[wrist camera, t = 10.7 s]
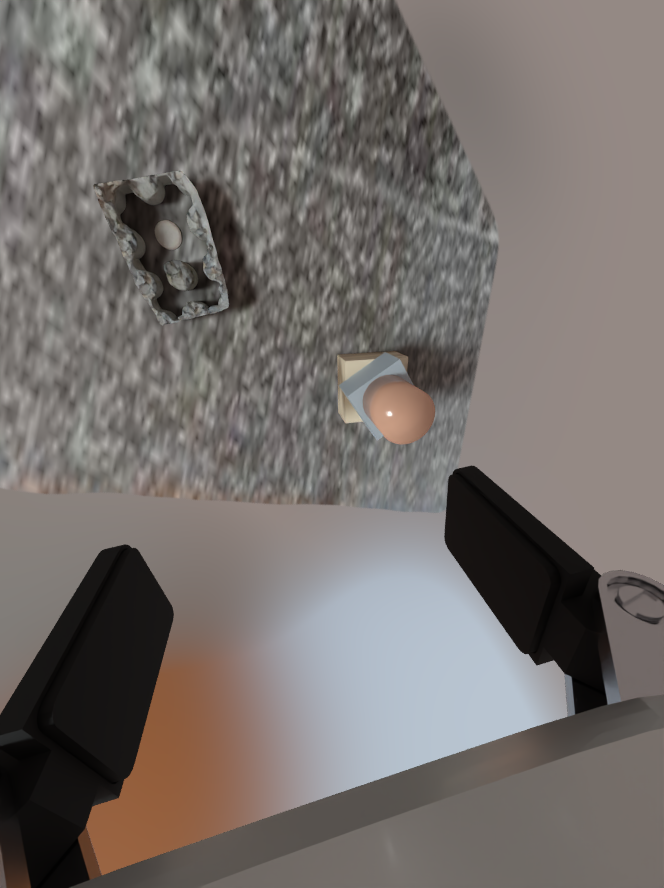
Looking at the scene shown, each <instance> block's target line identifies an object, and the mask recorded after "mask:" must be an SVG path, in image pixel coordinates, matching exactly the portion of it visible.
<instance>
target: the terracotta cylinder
mask: <svg viewBox="0 0 664 888" xmlns="http://www.w3.org/2000/svg"><path fill="white" fill-rule="evenodd" d="M362 402H363V409H364V412H365V414H366V415H367V416H368V418H369V419H370V420H371V421H372V422H373V424H374V425H375V426H376V427H377V428H378V429H379V431H380V432H381V433H382V434H383V435H384V437H385V438H386V439H388V440H389V441H391V442H393V443H396V444H409V443H412V442H414V441H416V440H418V439H420V438H421V437H422V436H424V435H425V434H426V433H427V431H428V430H429V429H430V427H431V425H432V423H433V420H434V417H435V406H434V403H433V401H432V399H431V397H430V396H429V395H428V394H427V393H425V392H424V391H422V390H420V389H419V388H417V387H415V386H414V385H412V384H411V383H409V382H407V381H406V380H404V379H402V378H401V377H399V376H396V375H384V376H381V377H378V378H377V379H375V380H374V381H373V382H371V383H370V385H369V386H368V387H367V389H366V390H365V393H364V395H363V401H362Z"/></svg>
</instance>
